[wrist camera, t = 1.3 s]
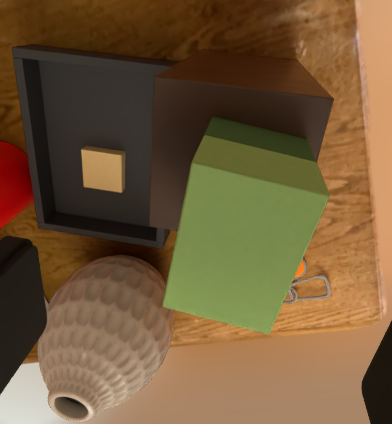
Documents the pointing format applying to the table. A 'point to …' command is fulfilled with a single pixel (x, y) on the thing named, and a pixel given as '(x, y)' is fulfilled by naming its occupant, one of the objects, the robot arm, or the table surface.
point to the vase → (104, 336)
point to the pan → (89, 138)
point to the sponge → (244, 224)
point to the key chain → (299, 274)
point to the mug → (13, 182)
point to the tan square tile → (103, 168)
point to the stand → (225, 114)
